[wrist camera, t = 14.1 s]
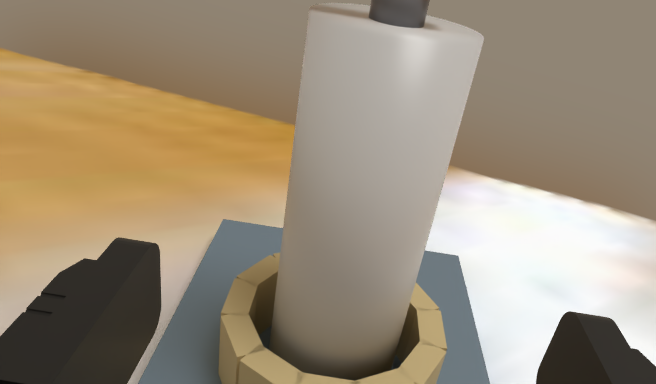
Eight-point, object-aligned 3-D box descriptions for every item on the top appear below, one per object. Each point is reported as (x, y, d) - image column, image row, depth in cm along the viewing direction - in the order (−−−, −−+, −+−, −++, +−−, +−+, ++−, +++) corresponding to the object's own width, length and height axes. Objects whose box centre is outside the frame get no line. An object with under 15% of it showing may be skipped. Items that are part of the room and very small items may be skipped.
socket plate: (451, 276, 31) (471, 212, 29) (554, 749, 13) (625, 673, 11) (222, 240, 31) (225, 173, 29) (18, 659, 13) (-14, 567, 11)
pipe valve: (385, 336, 23) (483, -35, 16) (388, 431, 19) (523, -20, 12) (235, 310, 23) (263, -71, 16) (202, 399, 19) (220, -70, 12)
